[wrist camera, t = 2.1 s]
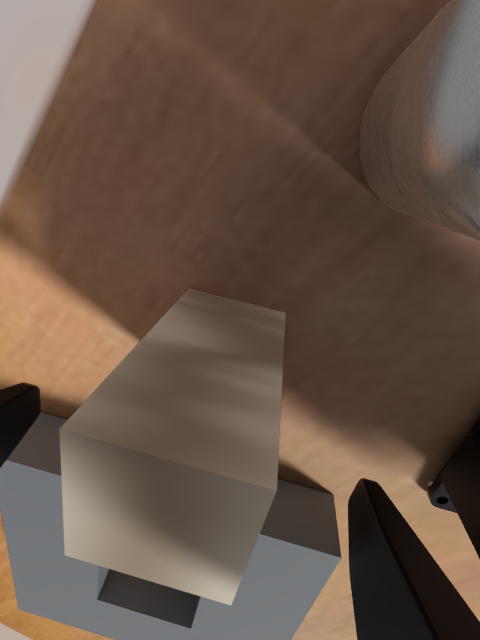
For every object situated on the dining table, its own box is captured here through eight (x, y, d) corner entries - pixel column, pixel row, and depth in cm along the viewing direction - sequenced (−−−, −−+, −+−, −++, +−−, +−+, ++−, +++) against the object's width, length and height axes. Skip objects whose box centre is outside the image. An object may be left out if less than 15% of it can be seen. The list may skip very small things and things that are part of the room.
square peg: (285, 312, 13) (276, 490, 6) (261, 391, 15) (231, 605, 7) (189, 288, 13) (59, 428, 6) (176, 368, 15) (64, 555, 7)
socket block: (333, 494, 16) (341, 557, 14) (266, 624, 22) (262, 685, 20) (38, 411, 17) (-9, 455, 14) (50, 558, 23) (18, 609, 20)
